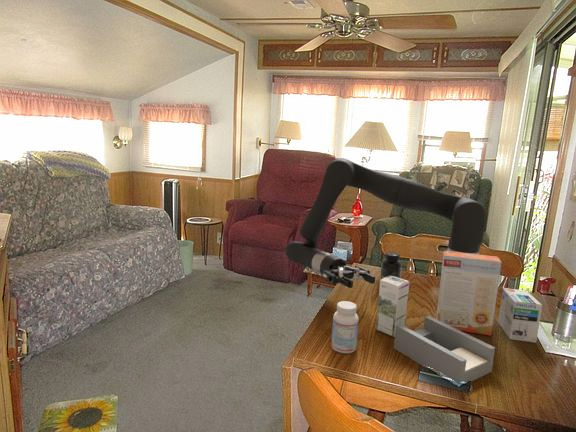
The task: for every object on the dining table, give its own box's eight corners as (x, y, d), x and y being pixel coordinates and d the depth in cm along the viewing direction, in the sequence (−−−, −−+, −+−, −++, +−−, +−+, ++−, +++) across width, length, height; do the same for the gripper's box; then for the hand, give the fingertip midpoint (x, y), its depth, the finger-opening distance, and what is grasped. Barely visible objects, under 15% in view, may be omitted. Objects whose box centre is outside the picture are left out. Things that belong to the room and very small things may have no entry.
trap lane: (425, 337, 105) (428, 315, 104) (491, 371, 90) (495, 347, 89) (393, 348, 98) (396, 325, 97) (458, 387, 84) (462, 361, 82)
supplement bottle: (376, 283, 143) (379, 251, 141) (393, 282, 145) (396, 250, 142) (385, 290, 136) (388, 256, 134) (403, 289, 138) (406, 256, 136)
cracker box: (488, 327, 112) (499, 255, 108) (491, 337, 106) (502, 261, 102) (435, 318, 116) (443, 249, 112) (435, 327, 111) (444, 254, 107)
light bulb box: (536, 343, 104) (543, 304, 102) (509, 340, 105) (515, 301, 103) (522, 325, 114) (528, 289, 112) (496, 322, 116) (502, 287, 114)
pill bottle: (338, 339, 102) (341, 297, 100) (360, 347, 98) (364, 304, 96) (326, 348, 97) (329, 305, 95) (349, 357, 93) (352, 312, 91)
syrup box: (405, 331, 107) (410, 280, 105) (393, 338, 103) (398, 285, 101) (386, 323, 111) (391, 274, 109) (374, 330, 107) (379, 279, 105)
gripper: (311, 257, 124) (345, 273, 110) (346, 252, 131) (382, 267, 118) (309, 280, 125) (343, 299, 112) (344, 273, 133) (379, 291, 119)
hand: (363, 282), depth 115 cm, fingers open, 8 cm apart
